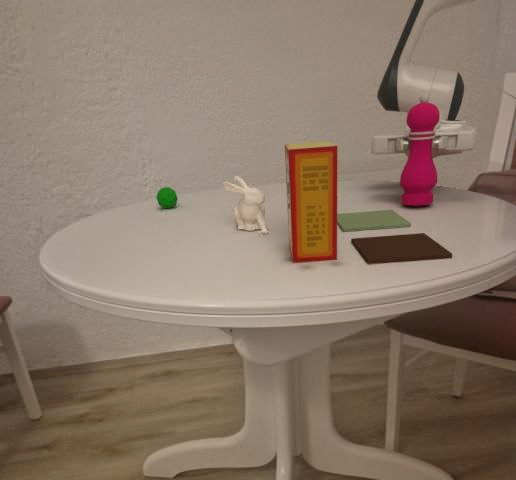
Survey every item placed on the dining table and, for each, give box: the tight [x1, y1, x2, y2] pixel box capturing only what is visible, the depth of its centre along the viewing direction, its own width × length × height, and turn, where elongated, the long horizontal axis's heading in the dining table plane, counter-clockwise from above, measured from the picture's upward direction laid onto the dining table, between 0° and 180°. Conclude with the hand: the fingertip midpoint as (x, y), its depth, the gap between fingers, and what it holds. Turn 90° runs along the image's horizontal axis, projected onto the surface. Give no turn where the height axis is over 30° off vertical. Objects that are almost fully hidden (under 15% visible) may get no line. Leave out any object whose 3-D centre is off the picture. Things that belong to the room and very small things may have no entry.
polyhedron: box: [156, 186, 179, 210], centre depth 116 cm, size 5×5×5 cm
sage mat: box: [337, 209, 412, 233], centre depth 90 cm, size 12×12×1 cm
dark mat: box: [350, 232, 453, 265], centre depth 73 cm, size 12×12×1 cm
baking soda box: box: [284, 140, 338, 264], centre depth 72 cm, size 10×6×16 cm
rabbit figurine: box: [222, 175, 270, 235], centre depth 90 cm, size 12×8×10 cm, turn 5°
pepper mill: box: [399, 93, 440, 207], centre depth 94 cm, size 7×7×20 cm
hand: (421, 145), depth 93 cm, fingers closed on pepper mill, 5 cm apart
